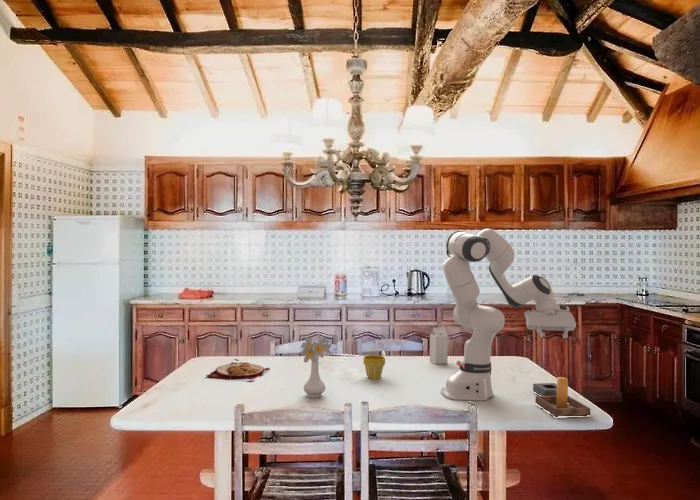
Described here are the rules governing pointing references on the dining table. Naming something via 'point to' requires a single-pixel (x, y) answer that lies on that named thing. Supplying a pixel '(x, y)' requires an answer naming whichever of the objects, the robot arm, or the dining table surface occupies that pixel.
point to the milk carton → (438, 346)
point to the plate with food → (239, 371)
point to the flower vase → (314, 365)
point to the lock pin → (562, 392)
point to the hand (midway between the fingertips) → (554, 337)
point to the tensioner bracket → (545, 389)
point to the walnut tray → (572, 408)
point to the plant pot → (374, 366)
